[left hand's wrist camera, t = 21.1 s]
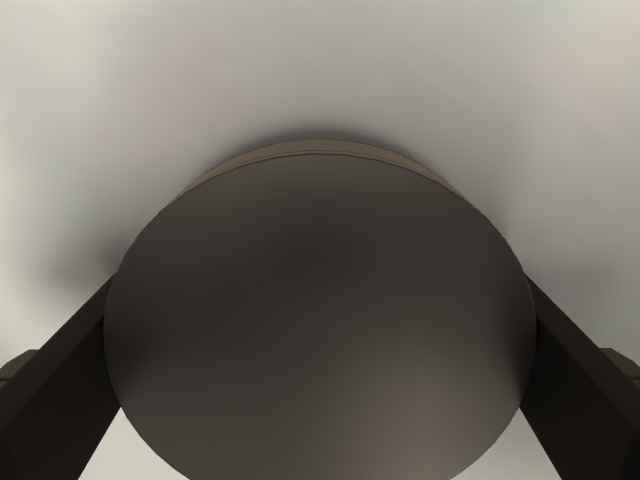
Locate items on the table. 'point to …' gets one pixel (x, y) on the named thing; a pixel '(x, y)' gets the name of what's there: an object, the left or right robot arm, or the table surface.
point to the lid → (320, 321)
